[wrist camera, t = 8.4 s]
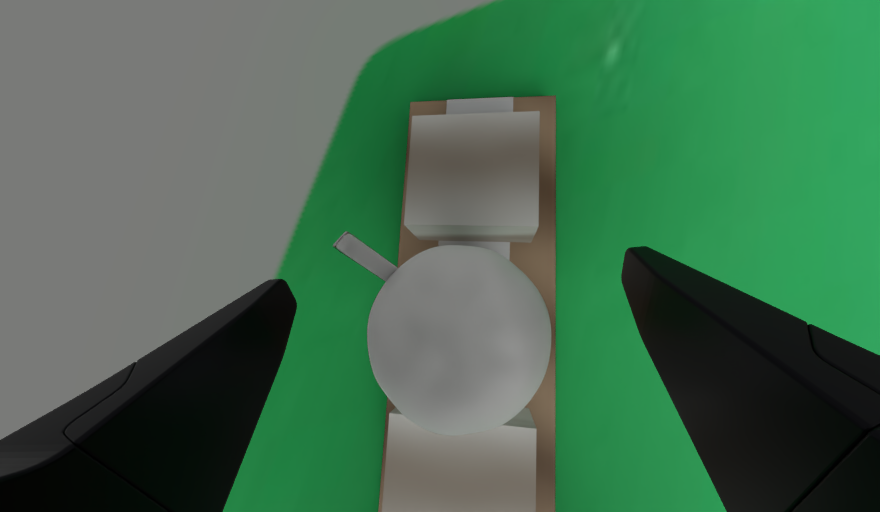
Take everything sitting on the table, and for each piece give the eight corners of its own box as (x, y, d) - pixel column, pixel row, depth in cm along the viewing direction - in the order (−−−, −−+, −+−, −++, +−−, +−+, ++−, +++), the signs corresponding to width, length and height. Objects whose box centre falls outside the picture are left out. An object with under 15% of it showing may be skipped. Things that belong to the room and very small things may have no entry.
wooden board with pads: (550, 592, 16) (574, 713, 11) (381, 561, 17) (335, 657, 12) (552, 108, 20) (570, 40, 15) (415, 113, 21) (390, 52, 16)
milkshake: (459, 249, 17) (411, 159, 8) (545, 326, 16) (621, 334, 6) (396, 318, 17) (266, 316, 7) (478, 400, 16) (450, 527, 6)
